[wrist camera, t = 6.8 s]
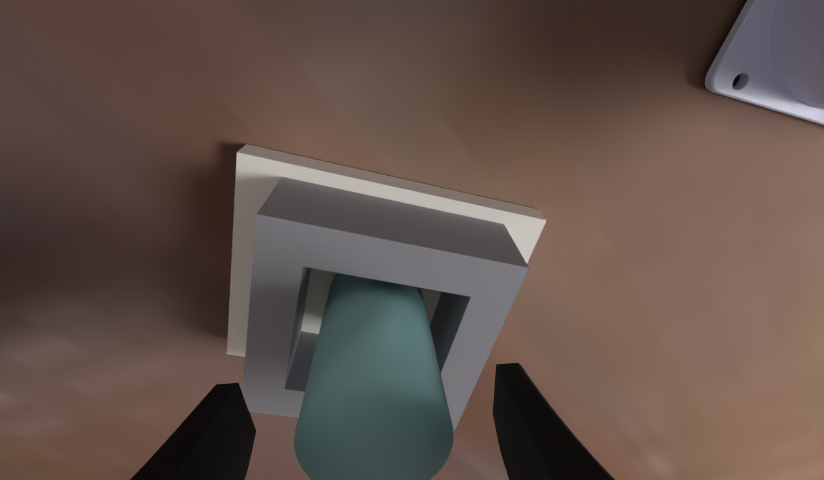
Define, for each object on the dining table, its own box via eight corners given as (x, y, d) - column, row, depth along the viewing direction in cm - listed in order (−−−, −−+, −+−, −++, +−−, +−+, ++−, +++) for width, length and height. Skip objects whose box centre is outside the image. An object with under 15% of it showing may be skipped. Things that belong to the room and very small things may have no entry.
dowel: (439, 287, 16) (485, 424, 9) (385, 350, 16) (391, 518, 10) (364, 236, 15) (355, 348, 8) (310, 306, 16) (263, 460, 9)
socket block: (537, 209, 16) (581, 263, 12) (466, 372, 20) (483, 448, 16) (246, 143, 14) (197, 185, 10) (234, 337, 18) (197, 415, 14)
